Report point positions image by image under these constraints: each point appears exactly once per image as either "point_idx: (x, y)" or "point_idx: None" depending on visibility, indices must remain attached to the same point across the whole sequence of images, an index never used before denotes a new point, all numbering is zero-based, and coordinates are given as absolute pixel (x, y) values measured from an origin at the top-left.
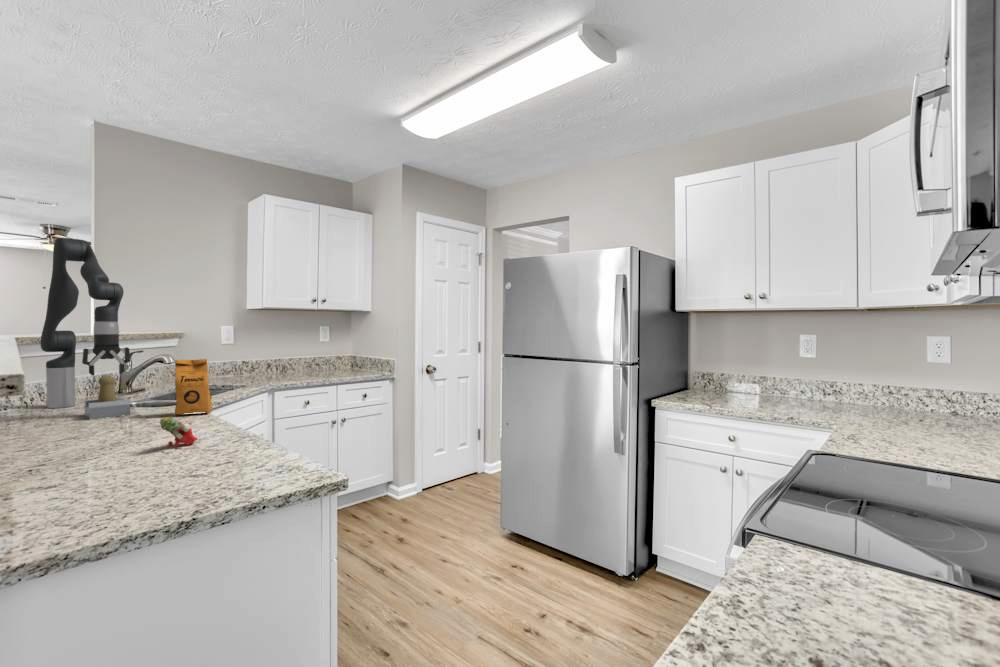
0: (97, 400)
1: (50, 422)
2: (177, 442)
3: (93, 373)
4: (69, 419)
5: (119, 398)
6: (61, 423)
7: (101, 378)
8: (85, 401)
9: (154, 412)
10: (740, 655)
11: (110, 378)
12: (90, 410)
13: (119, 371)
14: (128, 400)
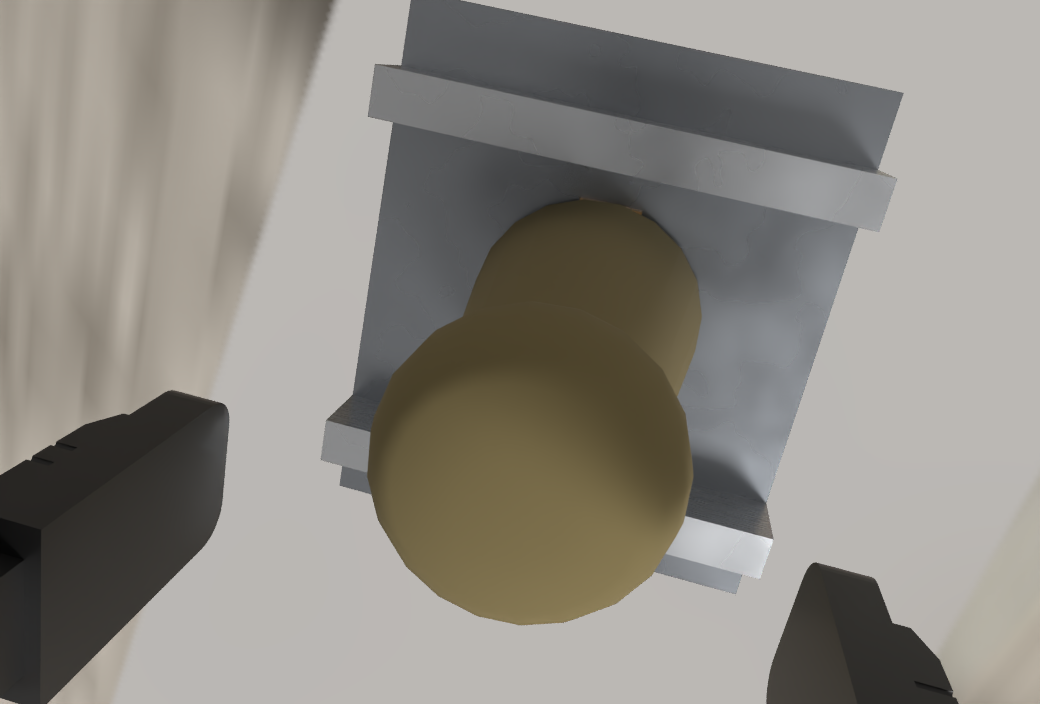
0: (514, 147)
1: (114, 218)
2: None
3: (173, 554)
4: (269, 184)
5: (804, 214)
6: (172, 385)
7: (386, 528)
8: (373, 101)
9: (990, 561)
10: None
11: (534, 623)
12: (350, 479)
13: (807, 631)
14: (750, 572)
